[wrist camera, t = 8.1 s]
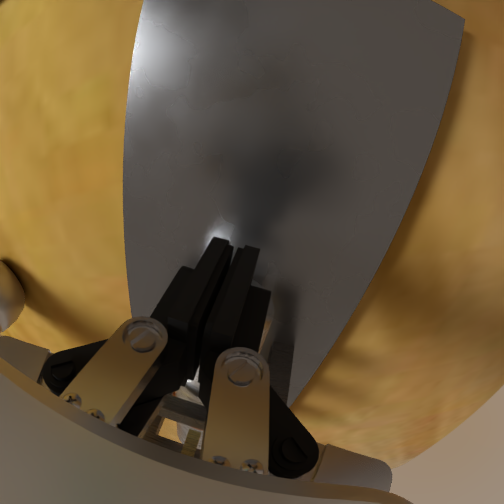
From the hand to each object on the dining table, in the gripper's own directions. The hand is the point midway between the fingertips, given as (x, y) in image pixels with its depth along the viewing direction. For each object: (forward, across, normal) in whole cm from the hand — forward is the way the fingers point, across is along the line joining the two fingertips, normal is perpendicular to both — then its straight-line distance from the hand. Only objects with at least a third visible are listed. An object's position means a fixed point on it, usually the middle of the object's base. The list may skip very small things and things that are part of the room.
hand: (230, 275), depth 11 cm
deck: (+4, 0, +4) cm, 5 cm away
